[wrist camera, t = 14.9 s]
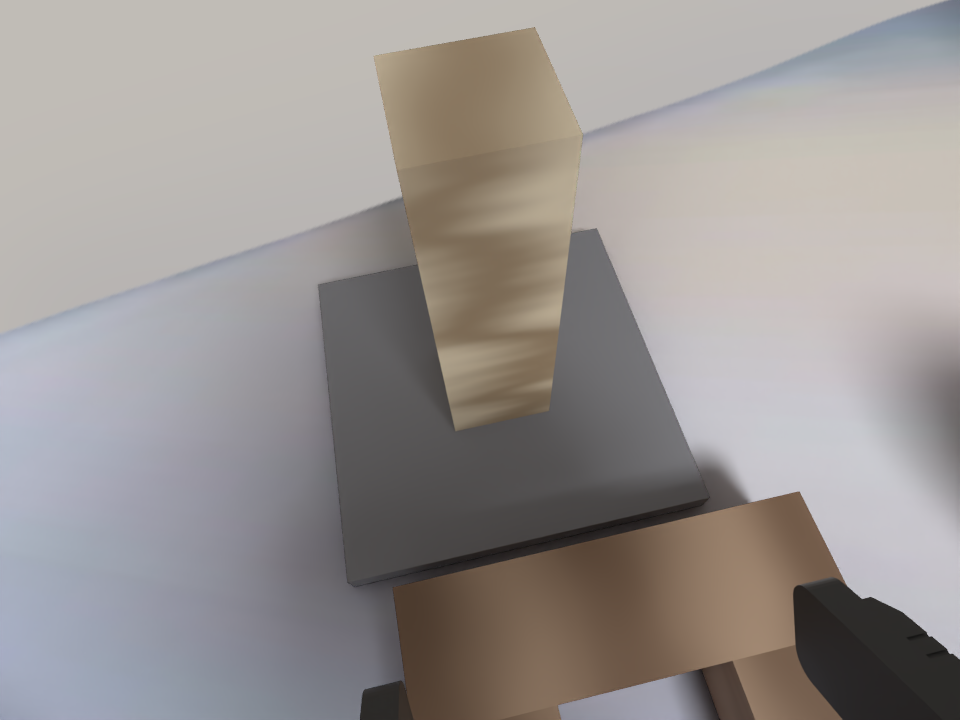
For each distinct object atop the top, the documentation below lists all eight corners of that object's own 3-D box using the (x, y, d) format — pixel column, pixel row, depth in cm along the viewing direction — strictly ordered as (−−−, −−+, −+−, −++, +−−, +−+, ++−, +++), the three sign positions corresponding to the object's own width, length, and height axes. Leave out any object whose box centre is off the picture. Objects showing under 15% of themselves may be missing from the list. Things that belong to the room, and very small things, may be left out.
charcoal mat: (594, 241, 30) (596, 228, 29) (702, 504, 23) (710, 497, 22) (323, 296, 29) (318, 284, 28) (353, 587, 22) (347, 582, 22)
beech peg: (525, 332, 27) (534, 27, 14) (548, 410, 25) (582, 134, 12) (438, 350, 26) (373, 56, 14) (455, 431, 24) (396, 170, 12)
